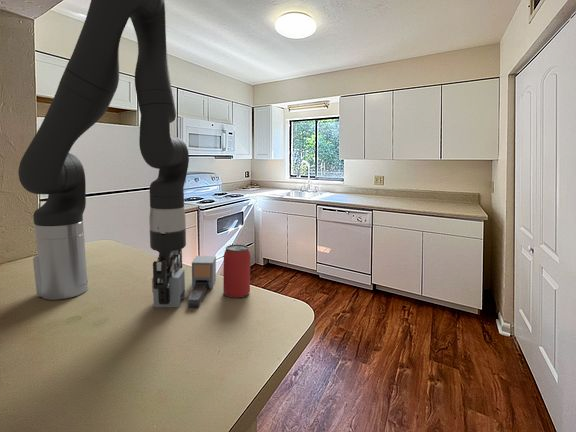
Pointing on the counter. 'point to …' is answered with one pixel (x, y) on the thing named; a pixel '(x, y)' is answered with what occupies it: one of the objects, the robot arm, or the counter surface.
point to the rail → (198, 293)
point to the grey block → (172, 290)
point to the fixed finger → (204, 270)
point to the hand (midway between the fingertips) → (169, 295)
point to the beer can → (236, 271)
